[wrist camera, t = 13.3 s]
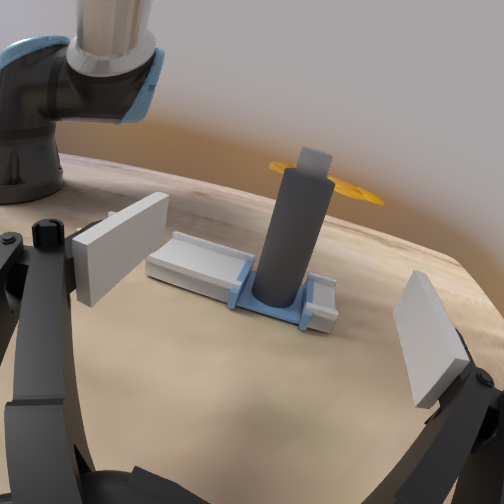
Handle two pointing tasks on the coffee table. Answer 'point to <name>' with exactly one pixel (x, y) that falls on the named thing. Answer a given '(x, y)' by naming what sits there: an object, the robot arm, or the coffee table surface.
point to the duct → (237, 280)
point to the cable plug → (293, 229)
